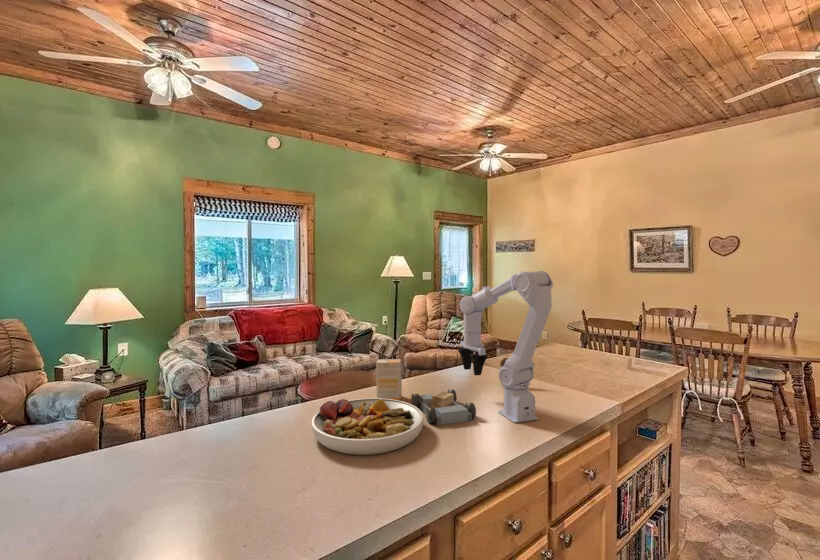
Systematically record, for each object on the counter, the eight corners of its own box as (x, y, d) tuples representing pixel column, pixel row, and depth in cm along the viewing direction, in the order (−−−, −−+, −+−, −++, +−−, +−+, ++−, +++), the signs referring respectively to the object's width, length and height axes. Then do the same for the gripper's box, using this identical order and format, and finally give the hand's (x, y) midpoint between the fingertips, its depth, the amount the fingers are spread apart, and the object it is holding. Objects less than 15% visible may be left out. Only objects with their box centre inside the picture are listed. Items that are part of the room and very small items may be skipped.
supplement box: (402, 396, 142) (401, 358, 142) (400, 400, 138) (400, 362, 137) (378, 395, 143) (378, 358, 143) (376, 400, 138) (375, 361, 138)
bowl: (434, 419, 122) (433, 392, 122) (406, 468, 93) (405, 434, 93) (341, 410, 130) (341, 385, 130) (289, 452, 101) (288, 421, 101)
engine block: (453, 409, 128) (453, 393, 128) (443, 414, 124) (443, 398, 123) (441, 406, 131) (441, 391, 131) (431, 411, 126) (431, 395, 126)
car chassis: (476, 420, 120) (476, 405, 120) (431, 426, 116) (431, 411, 116) (450, 399, 138) (450, 387, 138) (410, 404, 134) (410, 391, 134)
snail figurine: (518, 387, 151) (518, 355, 150) (501, 387, 151) (501, 355, 151) (515, 383, 156) (515, 351, 156) (498, 383, 157) (498, 352, 156)
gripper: (493, 334, 131) (493, 376, 132) (473, 327, 145) (473, 365, 146) (474, 336, 129) (474, 378, 130) (454, 329, 143) (455, 367, 144)
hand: (472, 372), depth 138 cm, fingers open, 7 cm apart
